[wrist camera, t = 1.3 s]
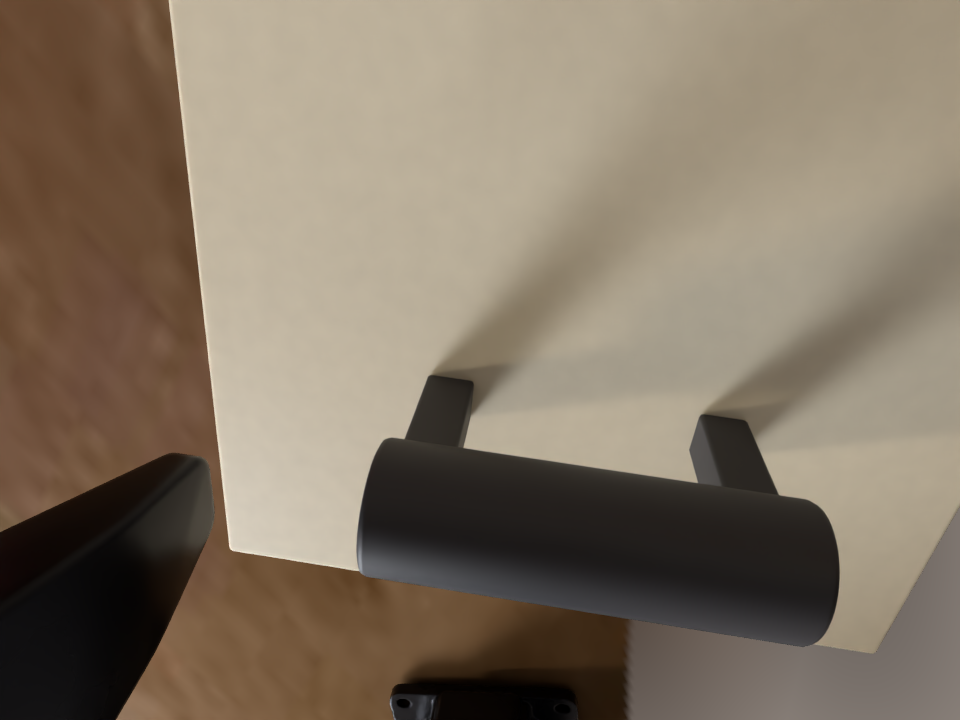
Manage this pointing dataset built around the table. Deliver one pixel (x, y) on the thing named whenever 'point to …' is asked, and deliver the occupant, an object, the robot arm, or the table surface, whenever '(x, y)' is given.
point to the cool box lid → (587, 297)
